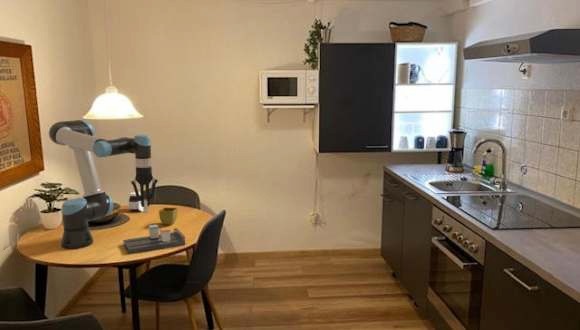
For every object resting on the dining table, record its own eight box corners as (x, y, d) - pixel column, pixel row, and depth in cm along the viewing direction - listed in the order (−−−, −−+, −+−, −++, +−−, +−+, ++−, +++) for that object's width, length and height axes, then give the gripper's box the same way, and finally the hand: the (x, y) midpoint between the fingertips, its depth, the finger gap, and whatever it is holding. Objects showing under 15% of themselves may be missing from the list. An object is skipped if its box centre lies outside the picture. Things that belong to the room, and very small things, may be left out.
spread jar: (133, 208, 313) (132, 191, 311) (149, 208, 313) (148, 191, 311) (126, 212, 301) (125, 195, 299) (144, 212, 301) (143, 195, 299)
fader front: (162, 242, 237) (161, 230, 236) (160, 239, 240) (160, 228, 239) (170, 240, 239) (170, 229, 238) (168, 238, 242) (168, 227, 241)
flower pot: (178, 222, 281) (178, 207, 279) (173, 226, 272) (172, 211, 271) (164, 221, 282) (163, 207, 280) (159, 225, 273) (158, 211, 272)
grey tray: (129, 254, 227) (128, 245, 227) (123, 244, 241) (122, 236, 241) (185, 244, 241) (184, 236, 240) (176, 236, 255) (176, 228, 254)
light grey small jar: (151, 238, 242) (150, 227, 241) (149, 236, 245) (148, 225, 244) (159, 237, 244) (158, 226, 243) (157, 235, 247) (156, 224, 246)
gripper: (131, 168, 222) (133, 216, 226) (158, 166, 228) (160, 212, 232) (128, 166, 229) (130, 212, 233) (155, 164, 235) (157, 209, 239)
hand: (145, 212), depth 233 cm, fingers closed
